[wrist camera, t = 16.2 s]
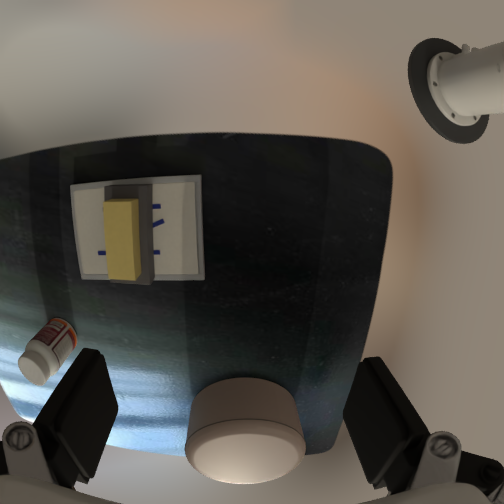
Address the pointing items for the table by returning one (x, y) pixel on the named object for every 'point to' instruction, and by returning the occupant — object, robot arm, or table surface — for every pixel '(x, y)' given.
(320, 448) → the table surface
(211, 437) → the container
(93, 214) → the whiteboard
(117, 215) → the eraser
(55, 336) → the pill bottle
